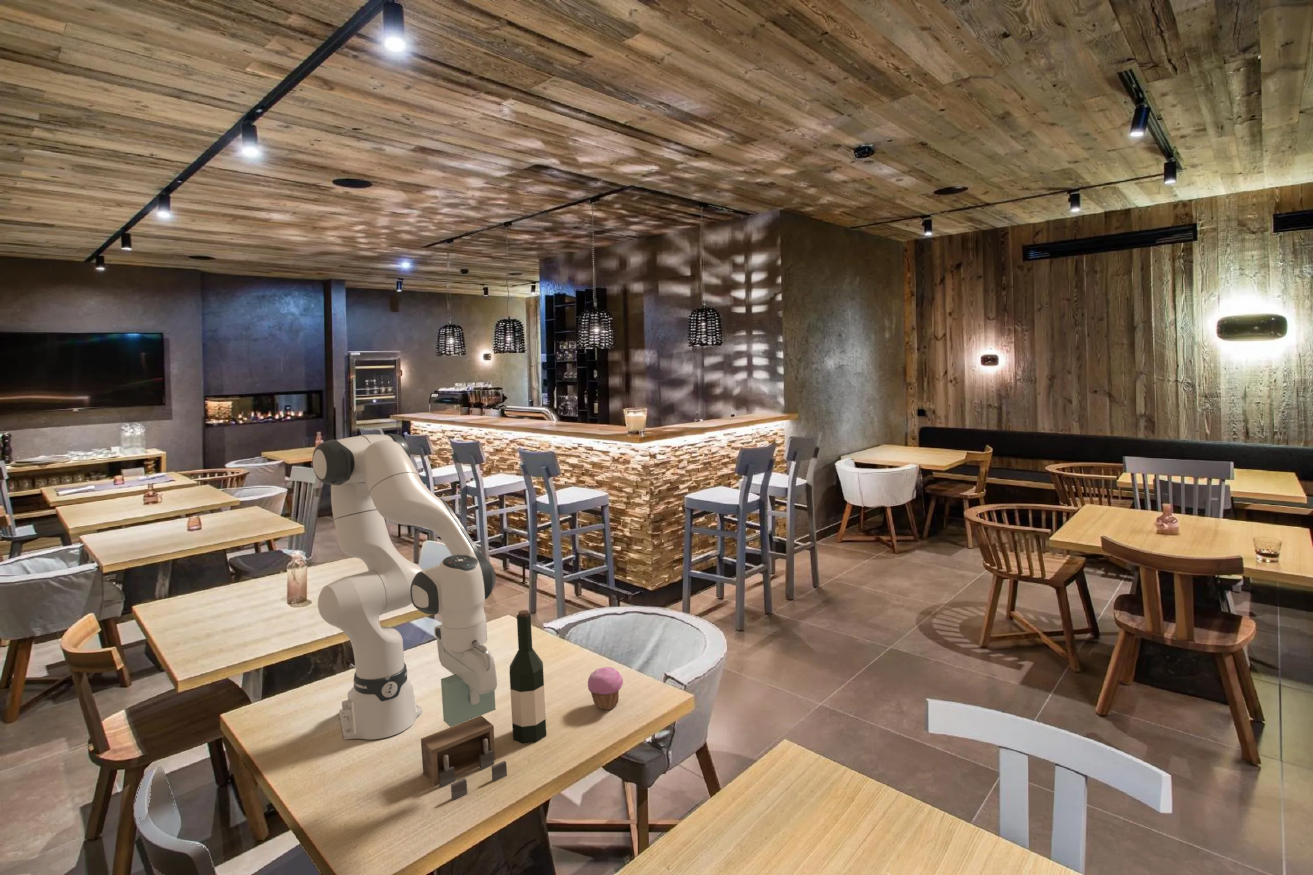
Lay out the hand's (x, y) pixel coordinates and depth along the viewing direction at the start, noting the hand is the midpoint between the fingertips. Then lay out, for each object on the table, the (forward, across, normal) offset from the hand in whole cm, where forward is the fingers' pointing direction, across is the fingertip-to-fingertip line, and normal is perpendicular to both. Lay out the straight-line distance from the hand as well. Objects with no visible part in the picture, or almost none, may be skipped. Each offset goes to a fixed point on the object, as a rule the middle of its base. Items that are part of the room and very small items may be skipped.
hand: (468, 698), depth 140 cm
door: (+4, 0, 0) cm, 4 cm away
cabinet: (+18, +3, 0) cm, 18 cm away
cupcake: (+18, +6, -39) cm, 43 cm away
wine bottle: (+18, +8, -18) cm, 27 cm away
